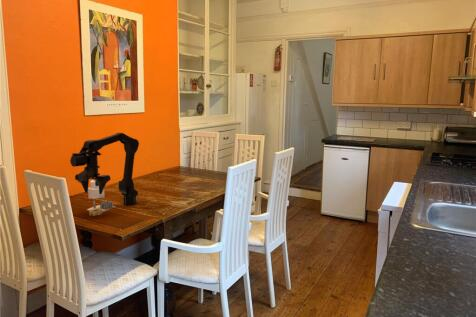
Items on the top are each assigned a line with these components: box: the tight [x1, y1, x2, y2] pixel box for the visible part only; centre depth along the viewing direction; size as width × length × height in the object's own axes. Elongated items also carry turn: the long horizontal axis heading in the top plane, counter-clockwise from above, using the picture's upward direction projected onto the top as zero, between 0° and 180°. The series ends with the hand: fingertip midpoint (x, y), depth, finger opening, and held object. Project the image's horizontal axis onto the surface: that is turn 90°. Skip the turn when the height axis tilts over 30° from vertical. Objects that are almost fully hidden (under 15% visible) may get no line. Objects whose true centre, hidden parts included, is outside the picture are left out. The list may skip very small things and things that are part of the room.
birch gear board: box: [86, 200, 116, 213], centre depth 205 cm, size 12×10×5 cm
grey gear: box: [99, 200, 114, 210], centre depth 206 cm, size 6×6×3 cm
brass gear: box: [88, 209, 103, 217], centre depth 195 cm, size 6×6×3 cm
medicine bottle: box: [87, 179, 106, 200], centre depth 229 cm, size 7×7×12 cm
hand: (93, 193), depth 194 cm, fingers open, 9 cm apart
